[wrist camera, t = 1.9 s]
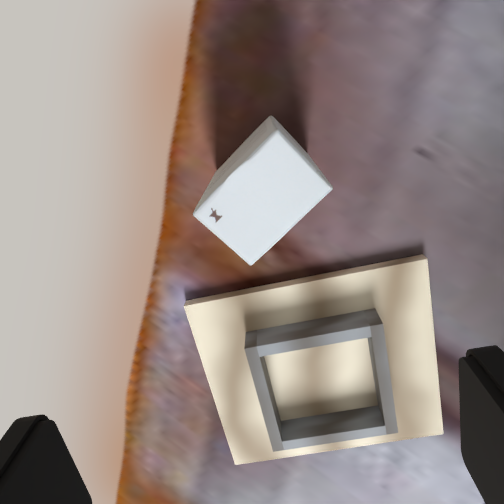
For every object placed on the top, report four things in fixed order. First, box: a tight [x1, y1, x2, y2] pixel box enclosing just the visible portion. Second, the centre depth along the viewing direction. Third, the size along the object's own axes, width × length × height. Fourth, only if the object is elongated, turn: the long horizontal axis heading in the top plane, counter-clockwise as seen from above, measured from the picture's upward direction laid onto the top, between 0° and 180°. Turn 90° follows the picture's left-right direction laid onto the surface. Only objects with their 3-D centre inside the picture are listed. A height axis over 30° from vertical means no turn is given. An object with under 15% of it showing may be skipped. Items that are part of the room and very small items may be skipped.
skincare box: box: [193, 115, 333, 265], centre depth 26 cm, size 6×4×12 cm
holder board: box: [184, 254, 443, 465], centre depth 37 cm, size 20×18×4 cm
